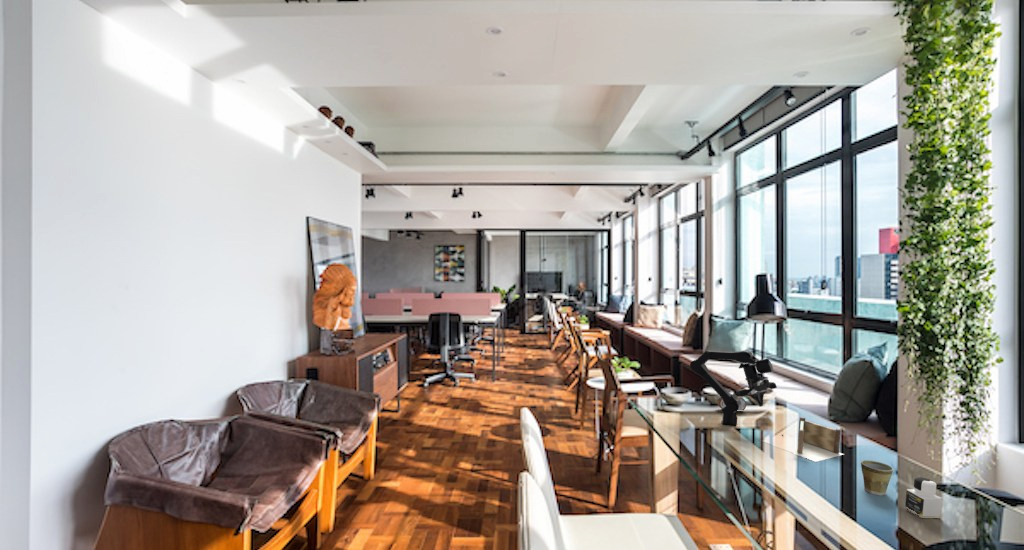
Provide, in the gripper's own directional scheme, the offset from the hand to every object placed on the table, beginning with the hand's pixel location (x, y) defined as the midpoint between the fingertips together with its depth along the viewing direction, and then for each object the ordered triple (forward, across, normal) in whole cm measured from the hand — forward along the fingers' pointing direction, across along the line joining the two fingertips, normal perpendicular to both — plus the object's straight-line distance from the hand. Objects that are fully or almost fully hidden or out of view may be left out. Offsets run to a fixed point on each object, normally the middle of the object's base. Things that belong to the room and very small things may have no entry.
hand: (761, 406), depth 264 cm
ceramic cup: (+28, +6, -60) cm, 67 cm away
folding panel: (+18, +4, -19) cm, 27 cm away
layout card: (+18, +4, -18) cm, 26 cm away
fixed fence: (+20, +13, -17) cm, 29 cm away
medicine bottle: (+33, +10, -77) cm, 85 cm away
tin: (+5, -1, +36) cm, 36 cm away
